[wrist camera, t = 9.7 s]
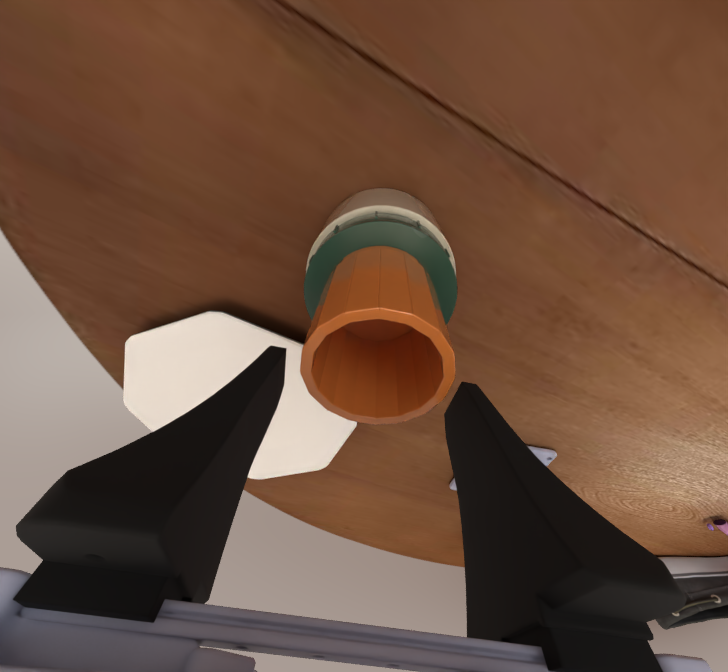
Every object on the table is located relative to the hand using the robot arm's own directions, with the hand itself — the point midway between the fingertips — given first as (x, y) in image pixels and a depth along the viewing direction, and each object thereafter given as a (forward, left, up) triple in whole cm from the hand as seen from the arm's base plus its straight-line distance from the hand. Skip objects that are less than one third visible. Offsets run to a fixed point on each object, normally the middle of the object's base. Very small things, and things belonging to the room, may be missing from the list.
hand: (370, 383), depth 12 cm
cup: (+2, 0, -4) cm, 4 cm away
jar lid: (+2, 0, -4) cm, 5 cm away
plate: (-15, +9, -10) cm, 20 cm away
